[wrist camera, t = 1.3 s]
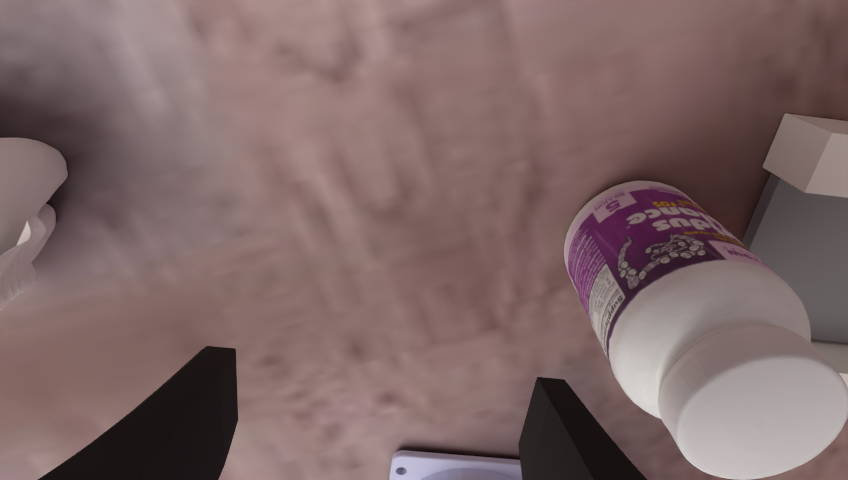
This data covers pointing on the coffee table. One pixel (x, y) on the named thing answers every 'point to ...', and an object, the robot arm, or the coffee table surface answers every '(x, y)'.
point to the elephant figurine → (25, 209)
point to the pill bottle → (703, 333)
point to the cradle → (809, 225)
